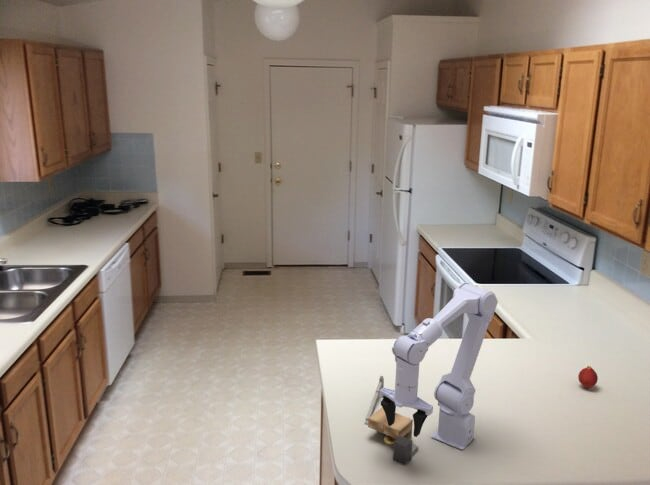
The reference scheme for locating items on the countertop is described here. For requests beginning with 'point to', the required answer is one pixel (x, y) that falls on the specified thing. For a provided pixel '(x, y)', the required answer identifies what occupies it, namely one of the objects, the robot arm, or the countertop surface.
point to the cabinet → (396, 430)
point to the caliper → (375, 398)
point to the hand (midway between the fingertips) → (403, 429)
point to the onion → (588, 377)
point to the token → (389, 440)
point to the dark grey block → (403, 450)
